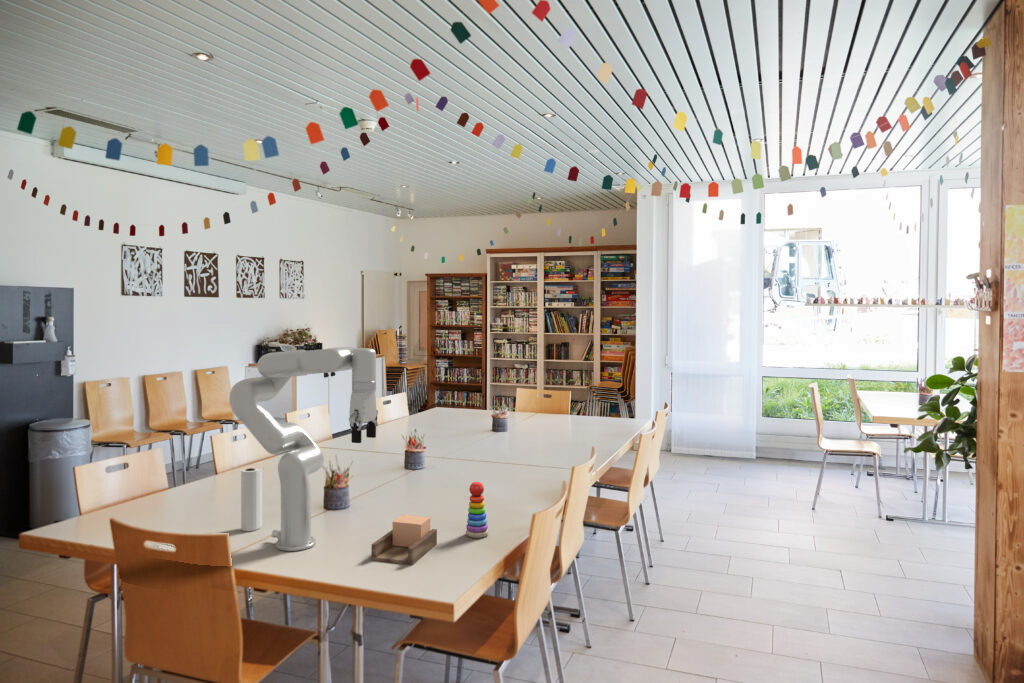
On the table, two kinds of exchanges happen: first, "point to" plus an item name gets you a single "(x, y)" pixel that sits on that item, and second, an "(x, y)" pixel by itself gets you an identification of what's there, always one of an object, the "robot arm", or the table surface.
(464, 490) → the table surface
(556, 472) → the table surface
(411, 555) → the chute
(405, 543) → the block
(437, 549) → the table surface
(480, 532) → the stacking toy
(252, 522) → the paper towel roll
